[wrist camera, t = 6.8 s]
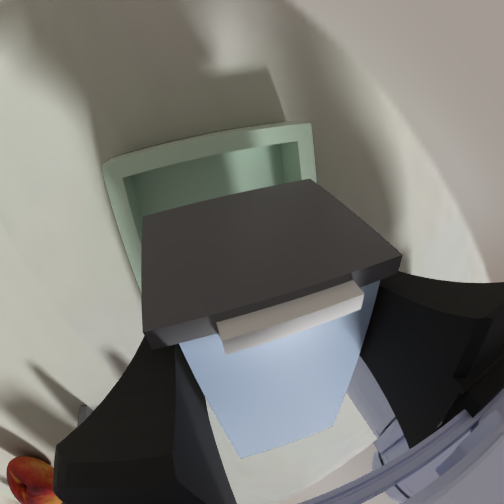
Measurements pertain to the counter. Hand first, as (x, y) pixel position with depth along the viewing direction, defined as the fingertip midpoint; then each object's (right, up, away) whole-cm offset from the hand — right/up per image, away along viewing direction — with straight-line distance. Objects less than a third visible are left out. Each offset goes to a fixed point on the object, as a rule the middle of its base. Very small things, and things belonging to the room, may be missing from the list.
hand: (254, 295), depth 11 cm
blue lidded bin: (0, -1, +3) cm, 3 cm away
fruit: (-27, -25, +12) cm, 39 cm away
